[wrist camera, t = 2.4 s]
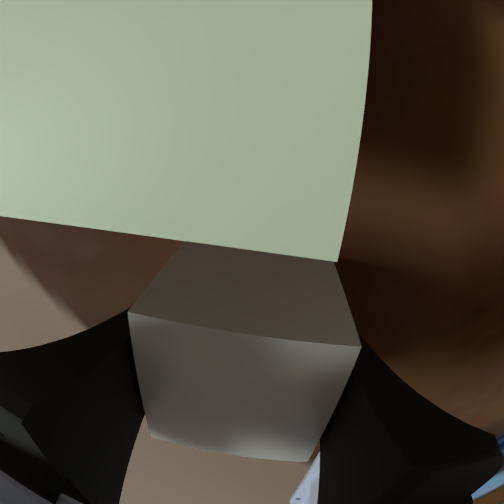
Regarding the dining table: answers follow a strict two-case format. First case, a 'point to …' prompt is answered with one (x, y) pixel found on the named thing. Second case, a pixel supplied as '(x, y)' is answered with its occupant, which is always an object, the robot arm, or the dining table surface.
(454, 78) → the dining table surface
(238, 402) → the white cube
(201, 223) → the trapdoor
